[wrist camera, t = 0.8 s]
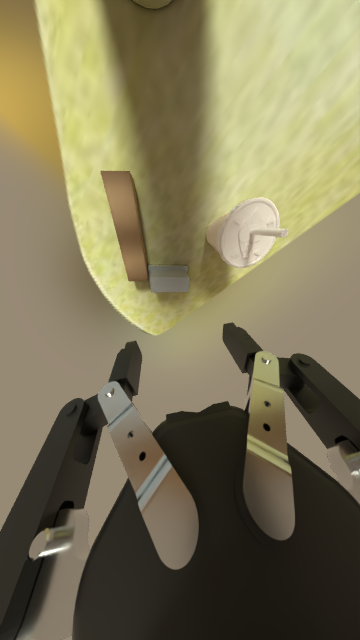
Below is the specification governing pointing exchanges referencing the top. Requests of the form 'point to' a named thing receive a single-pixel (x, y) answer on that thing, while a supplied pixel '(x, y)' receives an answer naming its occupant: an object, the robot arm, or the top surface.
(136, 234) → the walnut bar
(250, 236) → the smoothie
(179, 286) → the block
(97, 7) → the top surface
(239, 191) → the top surface
